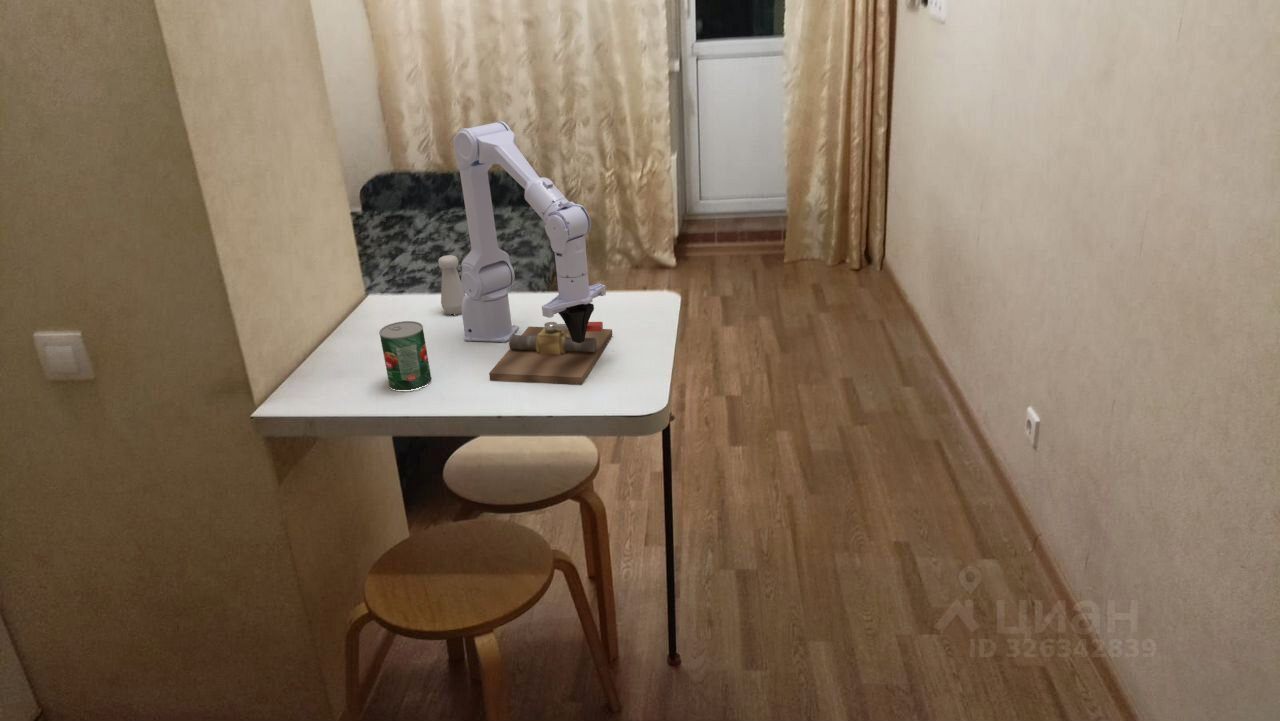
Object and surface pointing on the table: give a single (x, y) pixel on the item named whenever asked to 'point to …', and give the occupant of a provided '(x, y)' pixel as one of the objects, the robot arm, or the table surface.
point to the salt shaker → (451, 285)
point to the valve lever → (554, 327)
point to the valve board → (550, 357)
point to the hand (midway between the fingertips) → (578, 341)
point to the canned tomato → (405, 355)
